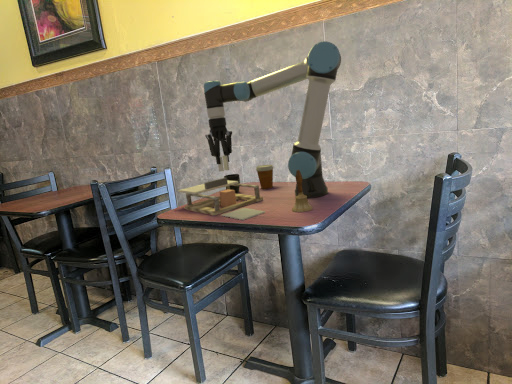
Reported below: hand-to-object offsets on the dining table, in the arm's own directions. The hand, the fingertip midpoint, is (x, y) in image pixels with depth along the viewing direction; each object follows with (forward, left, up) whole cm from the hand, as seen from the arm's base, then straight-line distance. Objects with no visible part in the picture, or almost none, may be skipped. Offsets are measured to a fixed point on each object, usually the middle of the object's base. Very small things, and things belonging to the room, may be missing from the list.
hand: (224, 170), depth 167 cm
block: (0, 0, -16) cm, 16 cm away
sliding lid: (+15, 0, -9) cm, 17 cm away
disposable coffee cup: (+12, -35, -17) cm, 40 cm away
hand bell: (-37, -9, -17) cm, 42 cm away
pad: (-19, +7, -16) cm, 26 cm away
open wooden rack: (+4, 0, -16) cm, 17 cm away
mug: (+23, -21, -17) cm, 35 cm away
